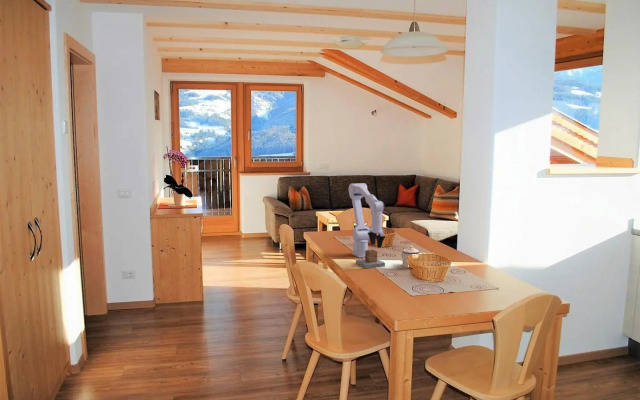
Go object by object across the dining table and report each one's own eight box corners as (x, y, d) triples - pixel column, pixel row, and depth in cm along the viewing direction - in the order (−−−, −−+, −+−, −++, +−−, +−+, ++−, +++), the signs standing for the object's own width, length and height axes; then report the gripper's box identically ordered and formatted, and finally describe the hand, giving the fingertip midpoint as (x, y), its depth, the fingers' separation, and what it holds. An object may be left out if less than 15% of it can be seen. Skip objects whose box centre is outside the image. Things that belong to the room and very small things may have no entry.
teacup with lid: (422, 267, 273) (422, 246, 271) (409, 269, 269) (409, 248, 267) (408, 262, 283) (408, 242, 282) (395, 264, 279) (396, 244, 277)
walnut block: (364, 260, 279) (365, 250, 278) (372, 259, 281) (372, 249, 280) (369, 262, 274) (369, 252, 274) (377, 261, 276) (377, 251, 275)
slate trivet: (355, 263, 281) (355, 259, 281) (374, 261, 286) (374, 257, 285) (365, 268, 270) (365, 265, 270) (384, 266, 275) (384, 262, 274)
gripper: (389, 224, 273) (388, 248, 275) (376, 219, 287) (376, 242, 289) (378, 225, 271) (377, 249, 273) (365, 220, 284) (365, 243, 286)
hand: (376, 246), depth 280 cm, fingers open, 7 cm apart
